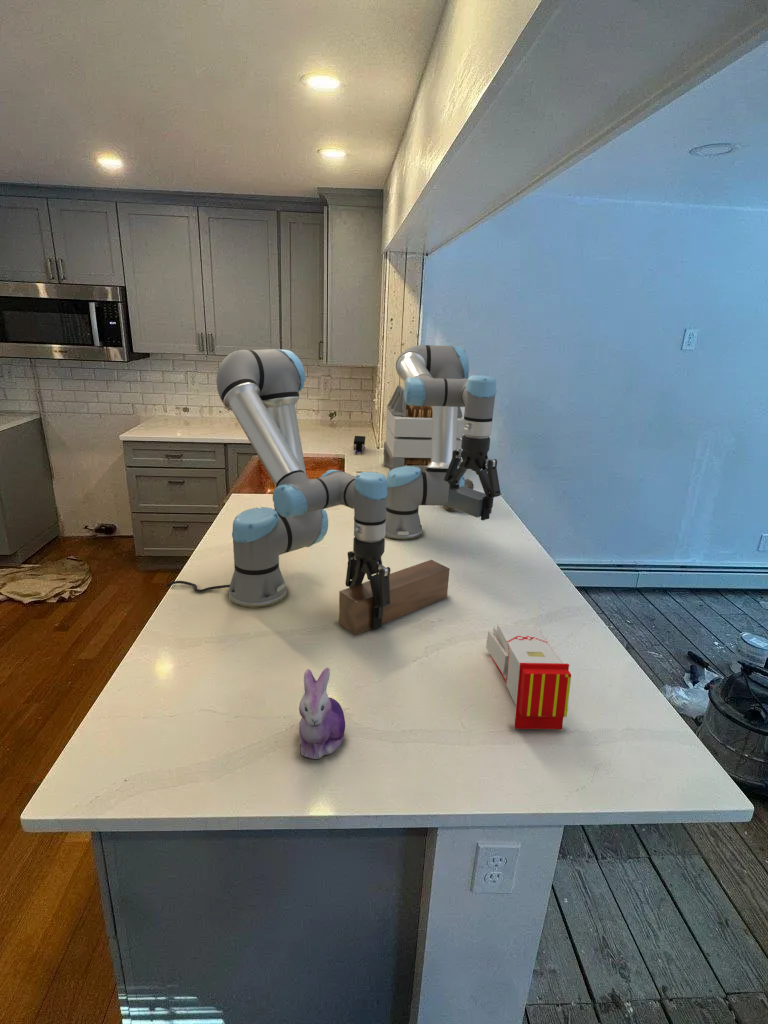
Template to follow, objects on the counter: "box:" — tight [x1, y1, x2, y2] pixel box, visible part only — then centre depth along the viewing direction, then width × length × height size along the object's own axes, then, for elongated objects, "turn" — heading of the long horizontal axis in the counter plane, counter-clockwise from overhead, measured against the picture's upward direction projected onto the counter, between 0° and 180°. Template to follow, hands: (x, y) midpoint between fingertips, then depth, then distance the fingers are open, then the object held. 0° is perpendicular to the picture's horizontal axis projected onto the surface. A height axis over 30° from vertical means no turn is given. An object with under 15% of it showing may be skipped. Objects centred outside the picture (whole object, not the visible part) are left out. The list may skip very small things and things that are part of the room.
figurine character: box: [352, 435, 367, 455], centre depth 309 cm, size 7×8×15 cm
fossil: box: [442, 478, 475, 512], centre depth 232 cm, size 22×10×15 cm
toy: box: [485, 623, 572, 730], centre depth 120 cm, size 12×13×30 cm
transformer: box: [383, 384, 464, 471], centre depth 268 cm, size 34×33×41 cm
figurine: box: [298, 667, 346, 760], centre depth 100 cm, size 9×10×15 cm
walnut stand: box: [338, 559, 450, 636], centre depth 148 cm, size 7×32×9 cm, turn 131°
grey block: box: [447, 486, 493, 519], centre depth 157 cm, size 11×6×5 cm, turn 41°
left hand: (366, 620), depth 143 cm, fingers open, 7 cm apart
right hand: (468, 513), depth 158 cm, fingers closed on grey block, 11 cm apart
